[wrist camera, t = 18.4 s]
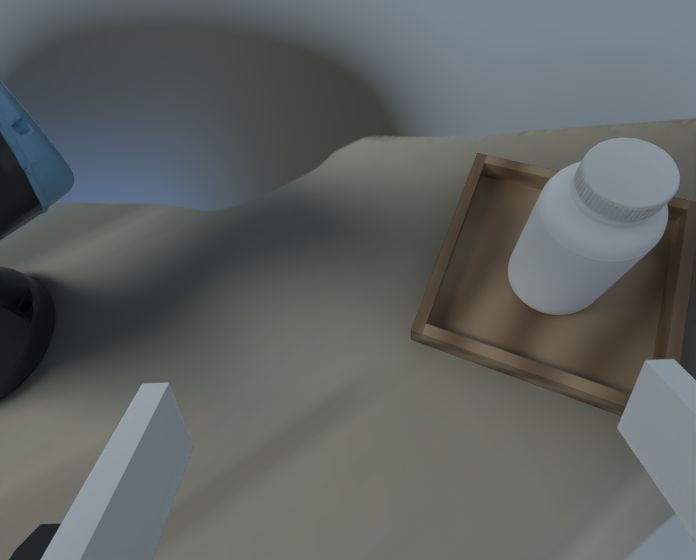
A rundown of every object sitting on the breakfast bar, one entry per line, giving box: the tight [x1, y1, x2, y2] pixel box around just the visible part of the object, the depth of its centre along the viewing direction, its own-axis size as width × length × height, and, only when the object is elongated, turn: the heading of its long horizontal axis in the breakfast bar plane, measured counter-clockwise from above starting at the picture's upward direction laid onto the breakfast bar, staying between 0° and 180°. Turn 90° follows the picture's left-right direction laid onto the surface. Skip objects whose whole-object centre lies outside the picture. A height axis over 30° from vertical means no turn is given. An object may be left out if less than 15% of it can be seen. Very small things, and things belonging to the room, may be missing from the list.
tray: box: [411, 153, 696, 416], centre depth 37 cm, size 20×20×3 cm
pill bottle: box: [508, 138, 680, 315], centre depth 31 cm, size 8×8×15 cm
